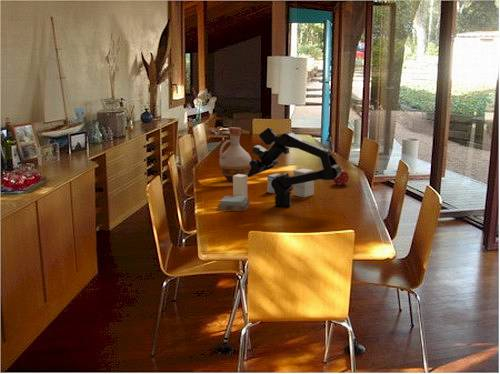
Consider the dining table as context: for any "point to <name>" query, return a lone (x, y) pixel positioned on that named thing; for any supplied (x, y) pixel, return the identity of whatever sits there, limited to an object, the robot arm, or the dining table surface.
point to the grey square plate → (234, 207)
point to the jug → (234, 157)
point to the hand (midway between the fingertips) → (253, 174)
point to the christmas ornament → (342, 177)
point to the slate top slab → (233, 200)
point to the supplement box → (303, 185)
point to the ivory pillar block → (240, 185)
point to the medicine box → (269, 180)
